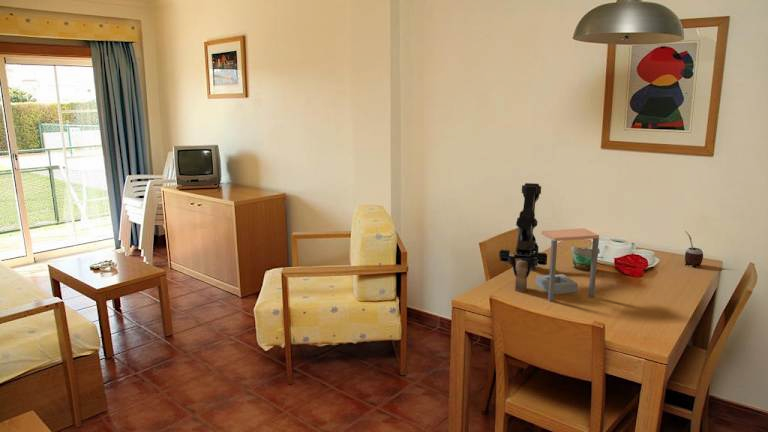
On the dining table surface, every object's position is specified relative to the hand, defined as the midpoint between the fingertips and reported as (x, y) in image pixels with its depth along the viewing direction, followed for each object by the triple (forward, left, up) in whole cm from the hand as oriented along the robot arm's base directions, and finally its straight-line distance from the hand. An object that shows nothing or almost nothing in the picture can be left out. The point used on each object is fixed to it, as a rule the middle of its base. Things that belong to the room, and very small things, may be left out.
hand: (521, 275), depth 211 cm
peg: (-1, +1, -7) cm, 7 cm away
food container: (-23, +37, -7) cm, 44 cm away
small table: (+1, +16, -7) cm, 17 cm away
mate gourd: (-23, +88, -7) cm, 91 cm away
